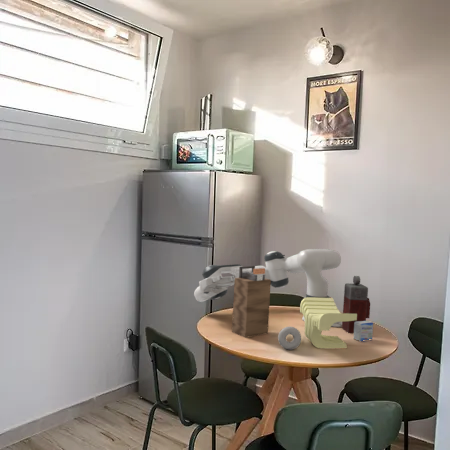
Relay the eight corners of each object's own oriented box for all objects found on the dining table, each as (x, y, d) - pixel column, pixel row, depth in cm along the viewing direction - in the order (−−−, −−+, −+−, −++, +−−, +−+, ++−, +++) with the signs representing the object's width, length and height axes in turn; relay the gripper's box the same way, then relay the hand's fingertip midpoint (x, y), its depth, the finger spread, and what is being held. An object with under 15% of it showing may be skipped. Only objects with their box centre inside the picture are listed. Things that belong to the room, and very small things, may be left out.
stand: (231, 331, 214) (235, 266, 212) (254, 328, 222) (257, 265, 220) (245, 337, 206) (248, 270, 204) (267, 333, 214) (271, 268, 212)
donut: (300, 348, 194) (301, 326, 193) (301, 351, 190) (302, 328, 190) (276, 347, 194) (278, 324, 193) (277, 350, 190) (279, 327, 190)
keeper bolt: (228, 273, 223) (229, 263, 222) (238, 273, 226) (238, 262, 226) (254, 280, 207) (255, 269, 206) (264, 280, 210) (265, 268, 210)
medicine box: (359, 342, 208) (361, 323, 208) (353, 339, 212) (354, 321, 212) (372, 340, 212) (373, 322, 211) (365, 337, 216) (366, 319, 215)
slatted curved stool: (298, 333, 217) (300, 297, 216) (330, 334, 219) (332, 298, 218) (317, 354, 187) (320, 312, 186) (354, 355, 189) (357, 313, 188)
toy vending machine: (369, 333, 223) (373, 278, 221) (347, 333, 222) (351, 277, 220) (362, 328, 232) (366, 274, 230) (341, 328, 231) (345, 274, 229)
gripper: (230, 290, 242) (245, 281, 232) (199, 293, 230) (213, 284, 220) (227, 279, 244) (241, 270, 235) (196, 281, 232) (210, 272, 222)
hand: (227, 276), depth 227 cm, fingers open, 8 cm apart
